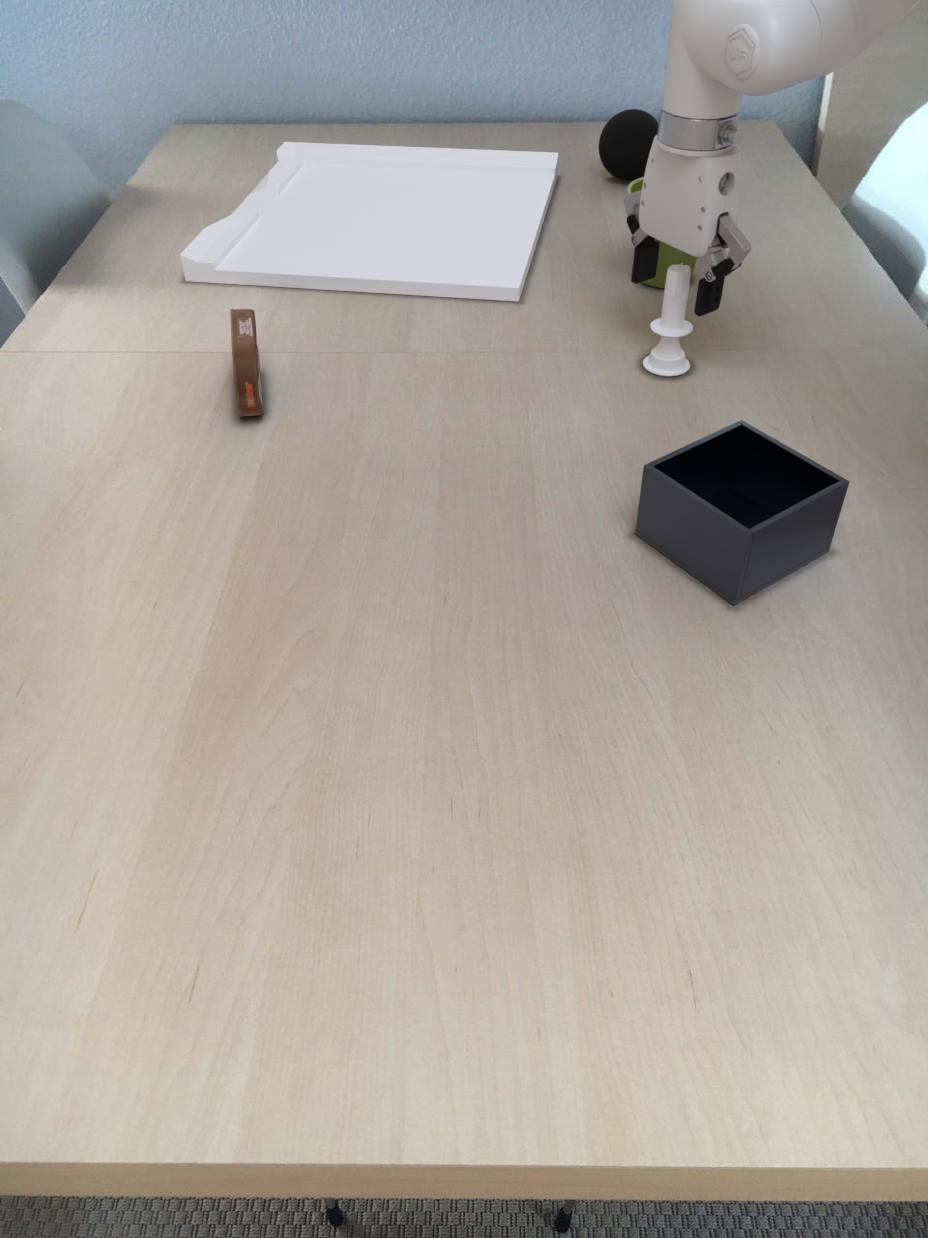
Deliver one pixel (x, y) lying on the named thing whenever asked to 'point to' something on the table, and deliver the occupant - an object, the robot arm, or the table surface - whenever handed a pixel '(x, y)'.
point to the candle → (671, 326)
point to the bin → (739, 509)
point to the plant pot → (664, 251)
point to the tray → (384, 222)
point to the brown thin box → (246, 363)
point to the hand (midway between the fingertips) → (674, 295)
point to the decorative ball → (627, 143)
